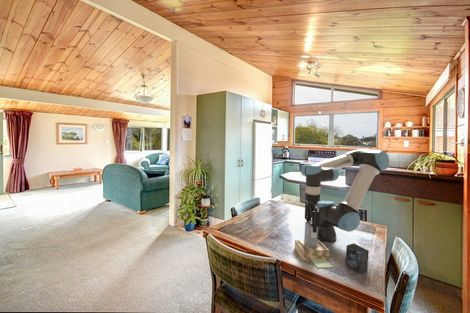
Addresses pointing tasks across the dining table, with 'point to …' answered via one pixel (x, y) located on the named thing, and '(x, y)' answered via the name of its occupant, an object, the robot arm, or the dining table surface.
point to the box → (357, 258)
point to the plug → (307, 239)
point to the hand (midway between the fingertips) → (311, 235)
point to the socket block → (311, 250)
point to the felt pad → (321, 263)
